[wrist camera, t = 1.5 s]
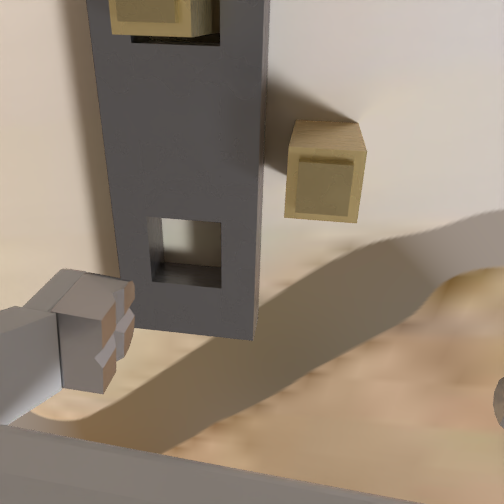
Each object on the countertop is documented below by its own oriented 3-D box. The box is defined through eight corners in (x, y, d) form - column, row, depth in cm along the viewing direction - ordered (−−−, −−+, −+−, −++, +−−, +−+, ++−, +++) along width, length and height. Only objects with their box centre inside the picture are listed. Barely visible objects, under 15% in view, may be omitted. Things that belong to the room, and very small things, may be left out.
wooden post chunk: (358, 122, 30) (368, 154, 23) (350, 182, 31) (357, 227, 25) (295, 119, 30) (287, 149, 23) (291, 178, 32) (283, 221, 25)
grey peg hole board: (276, -159, 24) (270, -181, 21) (257, 317, 38) (252, 340, 35) (92, -157, 25) (64, -177, 22) (140, 305, 39) (126, 326, 36)
